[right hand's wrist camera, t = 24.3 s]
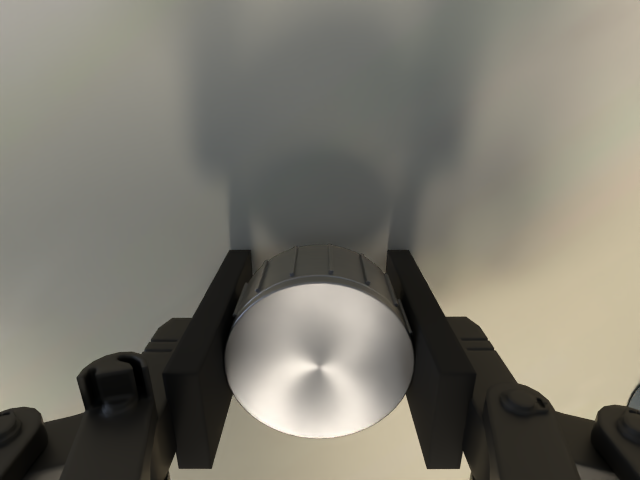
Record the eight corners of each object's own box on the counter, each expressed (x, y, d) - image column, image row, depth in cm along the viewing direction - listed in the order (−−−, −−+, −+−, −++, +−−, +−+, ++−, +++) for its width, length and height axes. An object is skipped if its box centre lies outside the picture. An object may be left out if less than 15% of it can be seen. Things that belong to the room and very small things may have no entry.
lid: (366, 396, 14) (375, 457, 11) (223, 358, 13) (203, 415, 11) (425, 270, 12) (449, 314, 10) (263, 221, 11) (248, 254, 9)
